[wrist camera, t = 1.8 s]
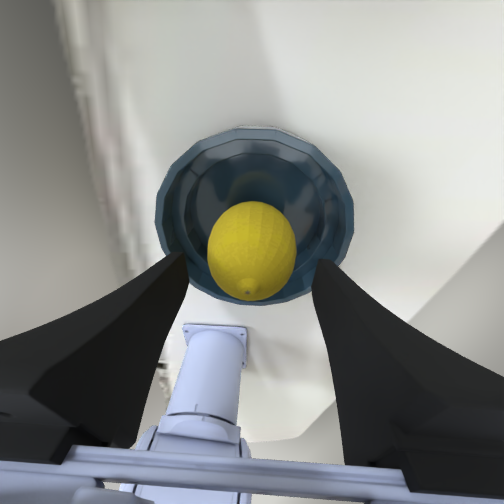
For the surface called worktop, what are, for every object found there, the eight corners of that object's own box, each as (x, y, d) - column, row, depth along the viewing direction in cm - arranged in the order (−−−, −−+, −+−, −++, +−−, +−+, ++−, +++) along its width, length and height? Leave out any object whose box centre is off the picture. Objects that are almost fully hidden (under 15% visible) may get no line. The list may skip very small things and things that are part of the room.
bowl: (317, 280, 20) (326, 309, 17) (188, 274, 20) (176, 301, 17) (360, 128, 13) (389, 132, 10) (157, 122, 13) (126, 124, 10)
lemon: (258, 169, 14) (252, 218, 7) (302, 224, 16) (329, 299, 10) (206, 217, 16) (167, 286, 10) (251, 259, 18) (245, 339, 12)
